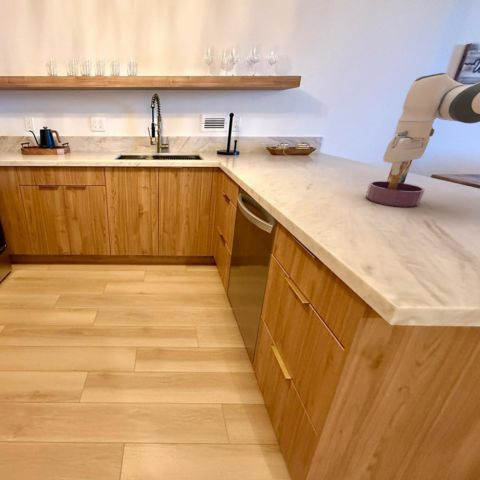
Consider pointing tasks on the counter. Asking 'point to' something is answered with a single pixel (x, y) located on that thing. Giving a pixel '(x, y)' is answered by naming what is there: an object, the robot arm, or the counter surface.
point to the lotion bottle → (403, 176)
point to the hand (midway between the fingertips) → (397, 174)
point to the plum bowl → (394, 194)
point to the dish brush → (396, 178)
